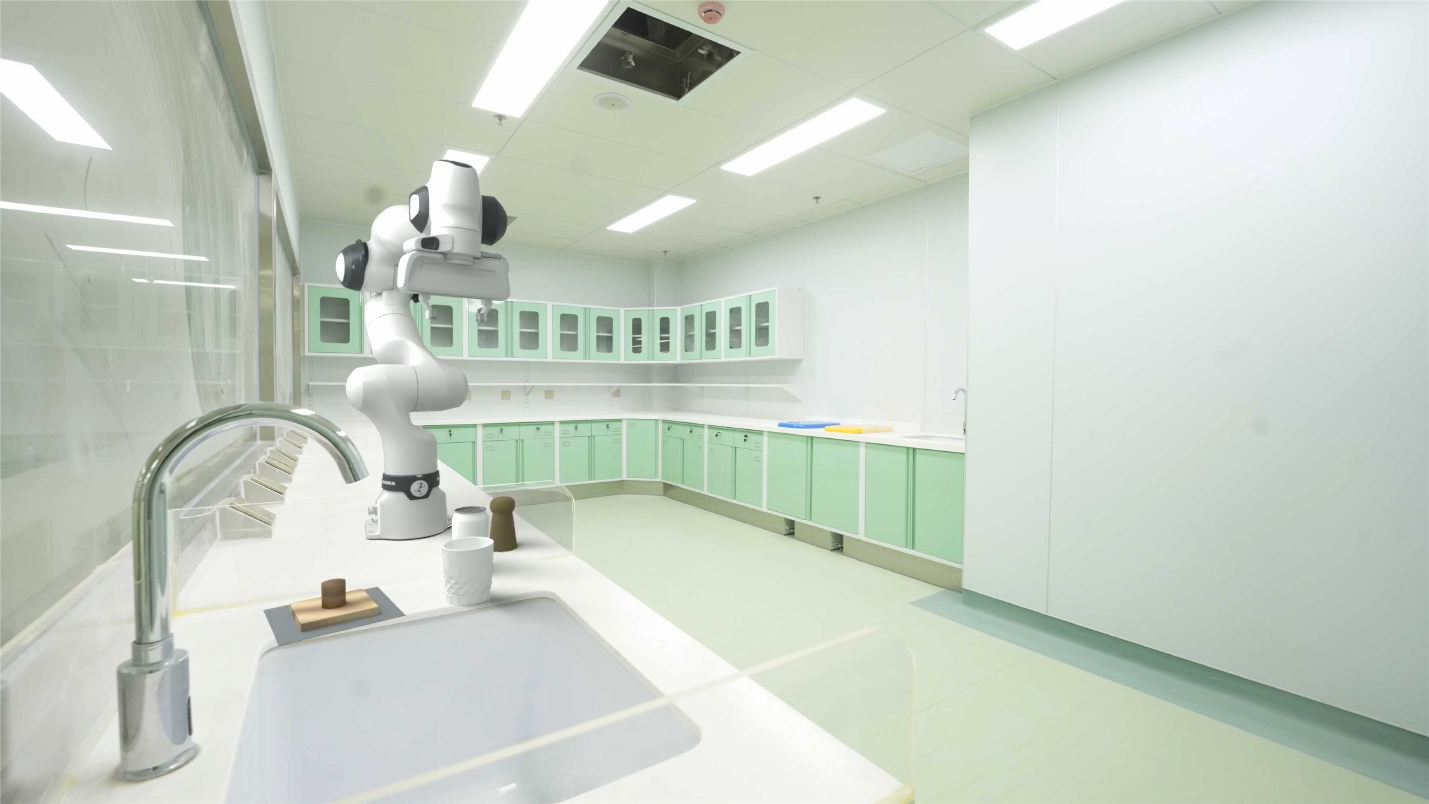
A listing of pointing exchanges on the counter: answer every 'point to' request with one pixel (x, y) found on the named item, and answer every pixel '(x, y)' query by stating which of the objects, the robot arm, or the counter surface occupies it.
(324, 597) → the lid
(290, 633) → the mat
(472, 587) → the white cup
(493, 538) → the olive pepper grinder
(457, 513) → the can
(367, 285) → the robot arm
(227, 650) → the counter surface
